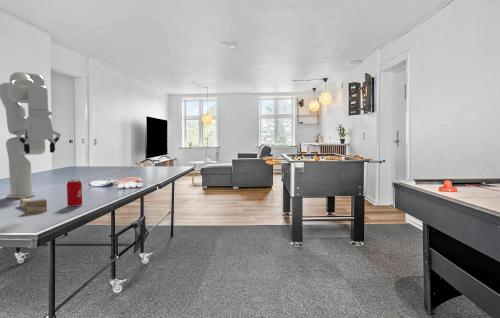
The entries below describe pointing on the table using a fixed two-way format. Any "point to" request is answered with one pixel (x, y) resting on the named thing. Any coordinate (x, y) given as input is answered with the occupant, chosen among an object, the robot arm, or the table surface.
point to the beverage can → (74, 193)
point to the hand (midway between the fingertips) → (40, 152)
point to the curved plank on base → (33, 205)
